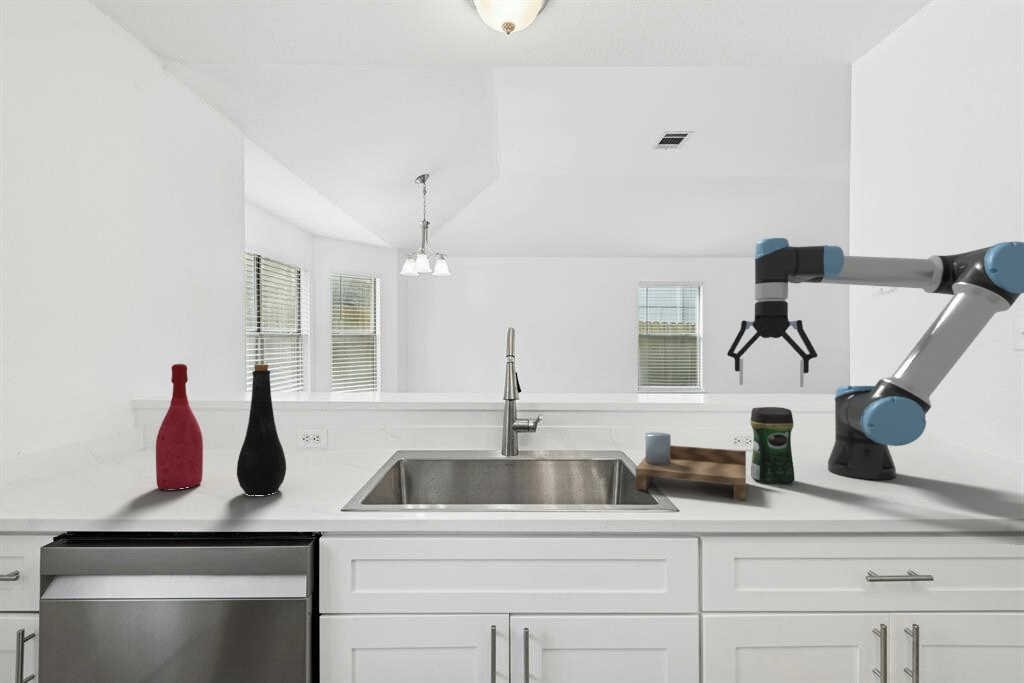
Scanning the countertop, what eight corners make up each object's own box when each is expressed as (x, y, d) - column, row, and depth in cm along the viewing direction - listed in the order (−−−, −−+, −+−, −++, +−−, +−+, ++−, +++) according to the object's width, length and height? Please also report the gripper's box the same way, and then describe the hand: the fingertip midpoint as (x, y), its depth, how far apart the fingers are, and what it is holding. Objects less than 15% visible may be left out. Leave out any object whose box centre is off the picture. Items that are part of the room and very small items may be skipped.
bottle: (296, 488, 129) (295, 363, 129) (262, 501, 119) (261, 366, 119) (261, 484, 133) (260, 363, 133) (225, 496, 123) (225, 365, 123)
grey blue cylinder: (672, 461, 135) (672, 433, 135) (668, 466, 130) (668, 437, 130) (647, 459, 138) (647, 431, 138) (643, 464, 132) (643, 435, 132)
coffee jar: (785, 477, 139) (784, 405, 139) (799, 485, 131) (798, 409, 131) (746, 476, 140) (746, 405, 139) (757, 484, 132) (757, 409, 132)
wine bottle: (212, 483, 134) (211, 363, 134) (172, 493, 125) (172, 365, 125) (186, 479, 138) (185, 362, 138) (146, 489, 129) (146, 364, 129)
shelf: (745, 483, 133) (745, 450, 133) (745, 501, 118) (745, 464, 118) (647, 473, 143) (647, 443, 143) (635, 489, 128) (635, 455, 128)
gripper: (826, 300, 133) (825, 386, 134) (718, 303, 143) (718, 382, 144) (830, 298, 127) (829, 388, 127) (717, 301, 137) (716, 384, 137)
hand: (770, 385), depth 135 cm, fingers open, 13 cm apart
